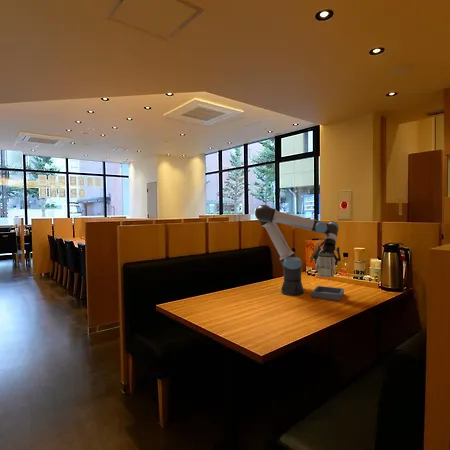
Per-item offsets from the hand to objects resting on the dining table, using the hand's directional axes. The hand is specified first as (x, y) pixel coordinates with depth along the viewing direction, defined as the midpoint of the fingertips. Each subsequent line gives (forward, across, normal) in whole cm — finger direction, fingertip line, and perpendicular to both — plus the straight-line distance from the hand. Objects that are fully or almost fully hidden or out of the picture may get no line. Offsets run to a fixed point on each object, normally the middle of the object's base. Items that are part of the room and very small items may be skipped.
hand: (324, 268), depth 203 cm
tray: (+11, -2, -16) cm, 19 cm away
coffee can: (+2, 0, -6) cm, 6 cm away
